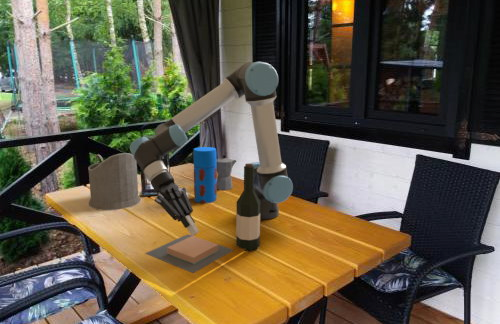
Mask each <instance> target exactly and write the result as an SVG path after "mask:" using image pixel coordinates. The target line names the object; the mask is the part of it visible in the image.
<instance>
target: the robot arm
mask: <svg viewBox="0 0 500 324" xmlns="http://www.w3.org/2000/svg"><path fill="white" fill-rule="evenodd" d="M278 86H279V75H278V73H277V70H276V69H275V67H273V66H272V64H269V62H265V61H255V62H246V63H244V64H242V65H240V66H239V67H238V68H236V70H234V71H233V72H231V73H230V74H229V75H228V76H226V77H225V78H223V81H222V83H220V84H219V85H218V86H216V87H215V88H213V89H212V90H210V91H209V92H208V93H206V94H205V95H204V96H201V98H199V99H197V100H196V101H195V102H193V103H192V104H190V105H188V106H187V107H186V108H184V109H183V110H182V111H180V112H179V113H177V114H175V116H173V117H171V118H170V119H169V120H167V121H166V122H164V123H161V124H158V125H157V127H156V128H155V132H154V135H155V136H154V137H152V138H150V139H149V138H148V137H146V136H141V137H139V138H136V139H134V140H133V141H132V142H131V143H130V145H129V150H130V152H131V153H130V154H132V155H133V156H134V158H135V160H136V161H137V165H138V166H139V168H140V169H141V170H142V172H143V174H144V176H145V177H146V179H147V180H148V182H149V183H150V185H151V187H152V188H153V189H154V191H155V192H156V194H157V196H156V198H155V199H154V202H155V203H156V204H159V206H161V208H162V209H163V210H164V211H165V212H166V213H167V214H168V215H169V216H170V217H171V218H172V219H173V220H174V221H177V222H181V224H182V225H183V227H184V228H186V229H187V231H188V233H189V235H191V236H194V237H195V236H196V235H197V234H198V233H199V232H200V230H199V228H198V227H197V224H196V222H195V219H194V218H193V217H192V215H191V214H192V213H193V211H194V209H193V206H192V204H191V201H190V200H189V197H188V194H187V188H186V187H179V186H178V185H177V184H176V183H175V179H174V177H173V175H172V174H171V172H170V171H169V169H168V168H167V166H166V164H165V163H164V161H163V160H162V158H163V157H164V156H167V155H168V154H169V153H172V152H173V151H174V150H176V149H178V148H180V147H182V145H184V144H185V143H187V141H188V136H187V134H186V133H187V132H189V131H190V130H191V129H193V128H195V126H197V125H199V124H200V123H201V122H203V121H204V120H206V119H207V118H209V117H210V116H212V115H213V114H214V113H216V112H217V111H218V110H219V109H222V108H223V107H225V106H226V105H227V104H228V103H230V102H231V101H233V100H235V99H236V100H238V99H240V98H242V97H243V96H244V100H245V102H246V104H248V105H249V107H250V110H251V118H252V123H253V129H254V137H255V142H256V150H257V155H258V156H257V157H258V161H256V162H255V161H254V162H251V163H250V164H253V166H254V192H255V193H256V195H257V197H258V198H259V200H260V220H270V219H274V218H275V219H276V217H278V216H279V213H280V210H279V209H280V208H279V205H278V204H280V203H283V202H285V201H288V199H289V197H290V196H291V195H292V194H293V189H294V185H293V181H292V180H291V178H290V177H289V176H288V172H287V171H288V170H287V165H286V164H285V163H284V162H282V156H281V148H280V143H279V142H280V141H279V136H278V135H279V134H278V128H277V121H276V115H275V113H276V112H275V106H274V101H275V100H276V98H277V91H276V89H277V87H278Z"/></svg>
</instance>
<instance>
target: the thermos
mask: <svg viewBox="0 0 500 324" xmlns="http://www.w3.org/2000/svg"><path fill="white" fill-rule="evenodd" d="M217 159H218V158H217V148H215V147H212V146H211V147H210V146H201V147H200V146H199V147H195V148H193V188H194V189H193V190H194V191H193V194H194V202H196V203H199V204H211V203H215V202H216V201H217V196H218V195H217V193H218V191H217V190H218V189H217V177H218V173H217V166H216V165H217Z"/></svg>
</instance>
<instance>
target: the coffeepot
mask: <svg viewBox="0 0 500 324" xmlns="http://www.w3.org/2000/svg"><path fill="white" fill-rule="evenodd" d="M222 157H223V158H217V165H216V166H217V190H219V191H228V190H232V188H233V187H234V186H233V179H232V175H231V174H232V169H233V166H235V164H236V163H237V160H236V159H231V158H227V157H226V154H223V155H222Z"/></svg>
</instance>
